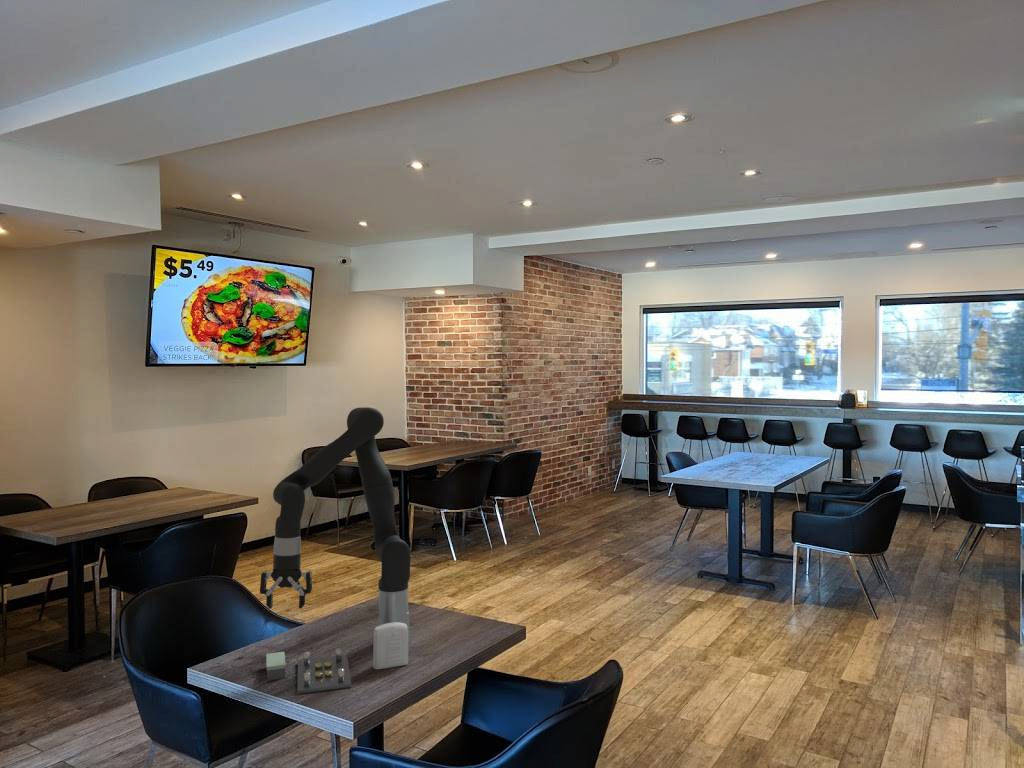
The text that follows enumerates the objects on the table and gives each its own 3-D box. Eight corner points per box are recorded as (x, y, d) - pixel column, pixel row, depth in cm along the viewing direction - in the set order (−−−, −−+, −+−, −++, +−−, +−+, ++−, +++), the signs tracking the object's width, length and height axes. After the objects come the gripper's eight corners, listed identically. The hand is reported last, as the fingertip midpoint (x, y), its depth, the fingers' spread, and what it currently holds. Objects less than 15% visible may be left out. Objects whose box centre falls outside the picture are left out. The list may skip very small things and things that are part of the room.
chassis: (346, 657, 215) (346, 644, 215) (351, 687, 195) (351, 672, 195) (297, 663, 211) (297, 649, 211) (297, 693, 191) (297, 679, 191)
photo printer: (406, 659, 213) (405, 618, 213) (410, 665, 210) (409, 622, 209) (371, 666, 209) (371, 623, 209) (375, 671, 205) (374, 628, 205)
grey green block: (284, 665, 211) (284, 651, 211) (285, 678, 201) (285, 664, 201) (266, 667, 209) (266, 653, 209) (266, 681, 200) (266, 667, 200)
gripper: (314, 548, 212) (313, 604, 212) (265, 548, 211) (263, 604, 211) (310, 554, 205) (308, 611, 205) (258, 554, 203) (256, 612, 203)
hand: (285, 607), depth 208 cm, fingers open, 8 cm apart
